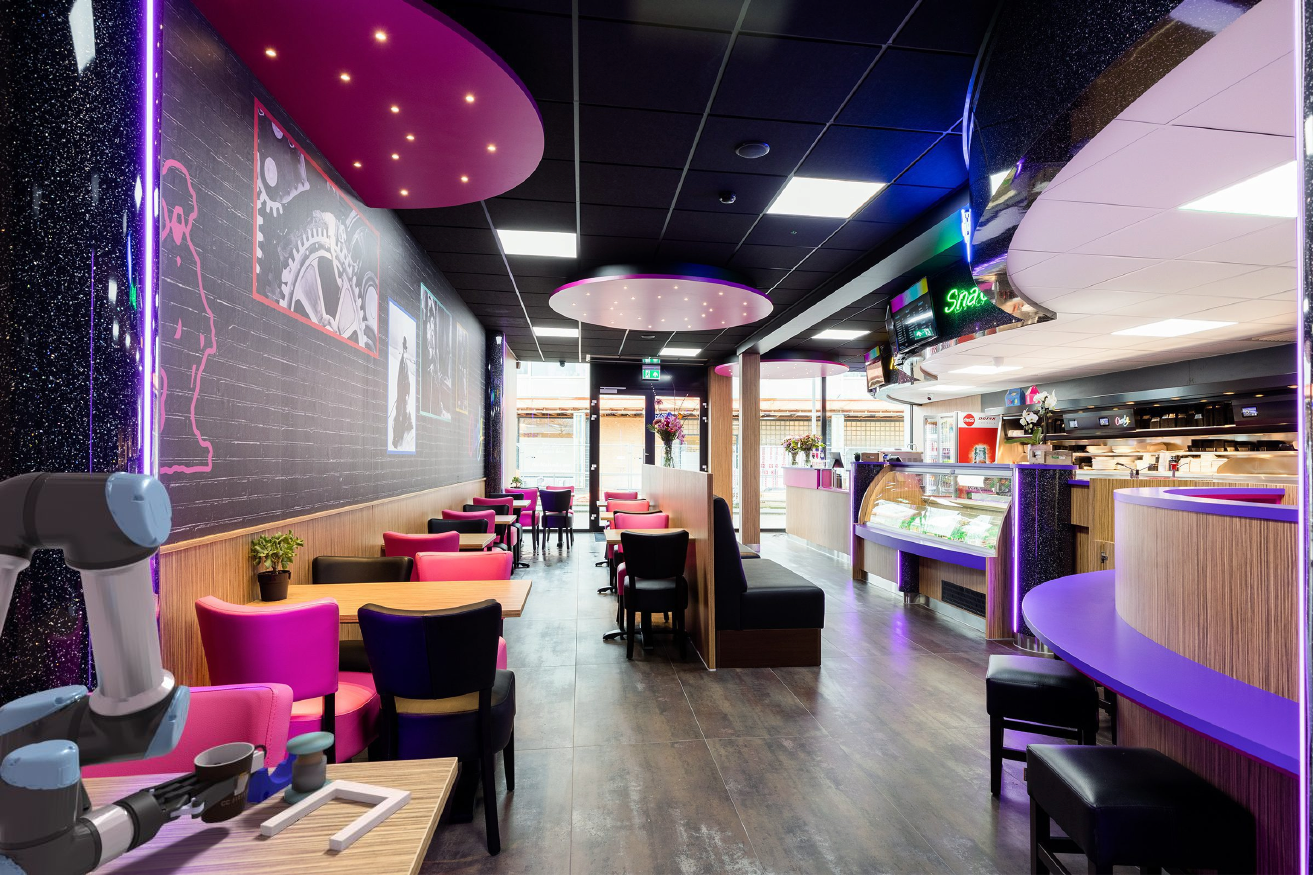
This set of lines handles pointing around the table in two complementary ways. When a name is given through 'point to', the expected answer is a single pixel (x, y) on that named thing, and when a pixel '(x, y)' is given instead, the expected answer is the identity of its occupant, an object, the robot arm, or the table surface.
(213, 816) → the coffee mug
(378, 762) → the table surface
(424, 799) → the table surface
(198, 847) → the table surface
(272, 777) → the cable clip
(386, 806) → the u-shaped bracket
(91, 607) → the robot arm
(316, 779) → the bobbin
